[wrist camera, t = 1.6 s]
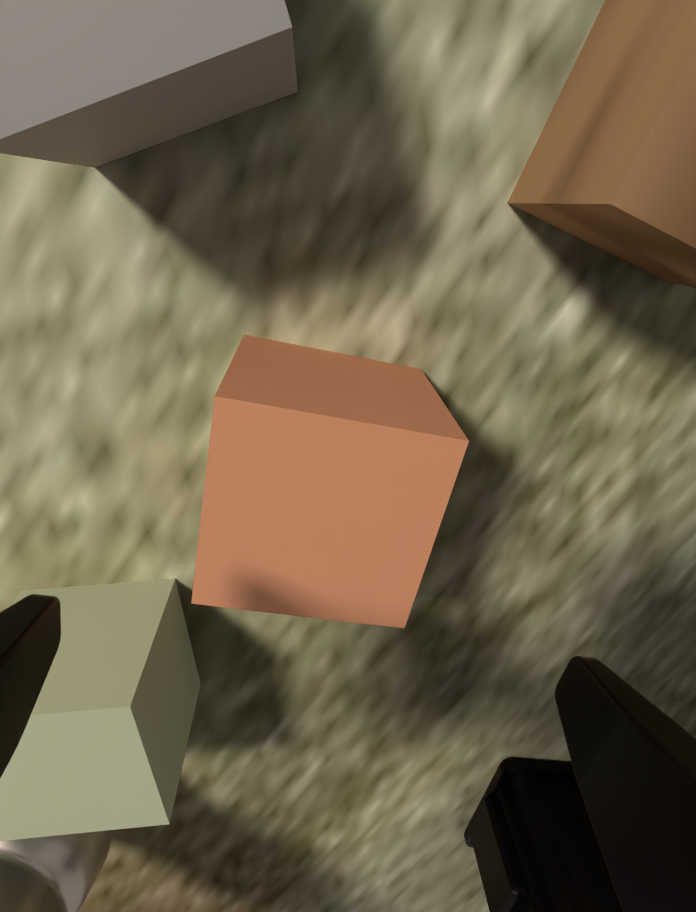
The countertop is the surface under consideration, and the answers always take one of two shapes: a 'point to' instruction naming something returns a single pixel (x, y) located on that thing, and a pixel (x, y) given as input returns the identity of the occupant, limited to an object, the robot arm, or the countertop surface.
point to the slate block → (134, 72)
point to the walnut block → (625, 141)
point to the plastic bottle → (50, 871)
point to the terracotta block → (323, 485)
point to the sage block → (106, 716)
